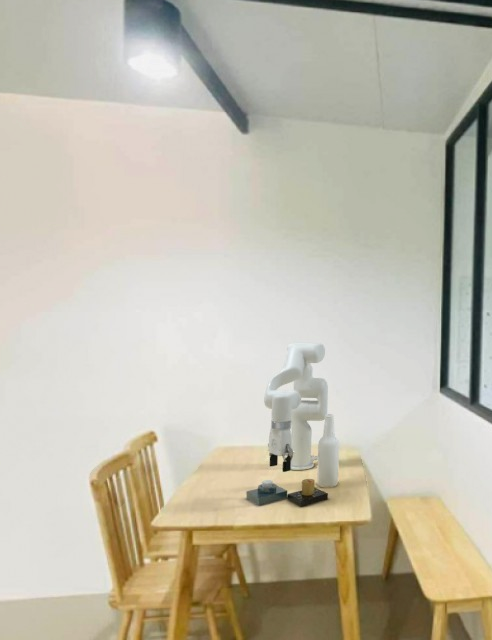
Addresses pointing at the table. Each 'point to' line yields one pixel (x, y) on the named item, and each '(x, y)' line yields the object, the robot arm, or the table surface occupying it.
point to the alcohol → (328, 455)
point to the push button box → (266, 494)
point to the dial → (308, 487)
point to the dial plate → (307, 497)
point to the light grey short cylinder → (267, 484)
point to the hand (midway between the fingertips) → (279, 468)
